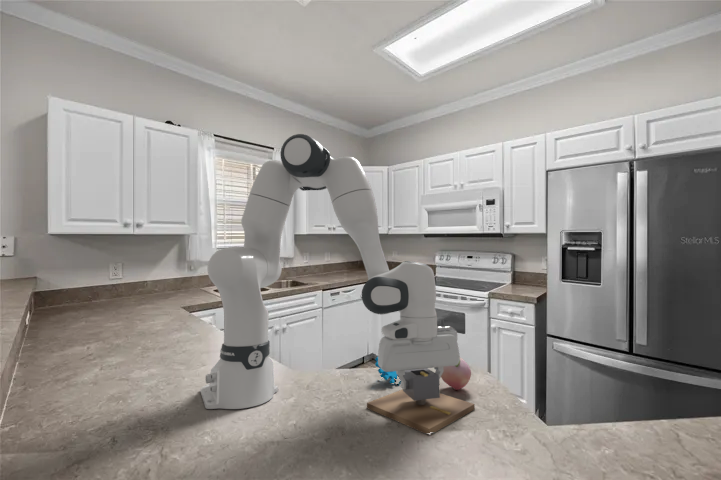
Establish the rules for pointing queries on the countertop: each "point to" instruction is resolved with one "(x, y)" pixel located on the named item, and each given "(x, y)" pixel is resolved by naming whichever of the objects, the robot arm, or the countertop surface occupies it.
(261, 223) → the robot arm
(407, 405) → the brown square board
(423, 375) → the square tunnel box
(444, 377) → the decorative fruit
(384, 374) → the gear
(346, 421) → the countertop surface
